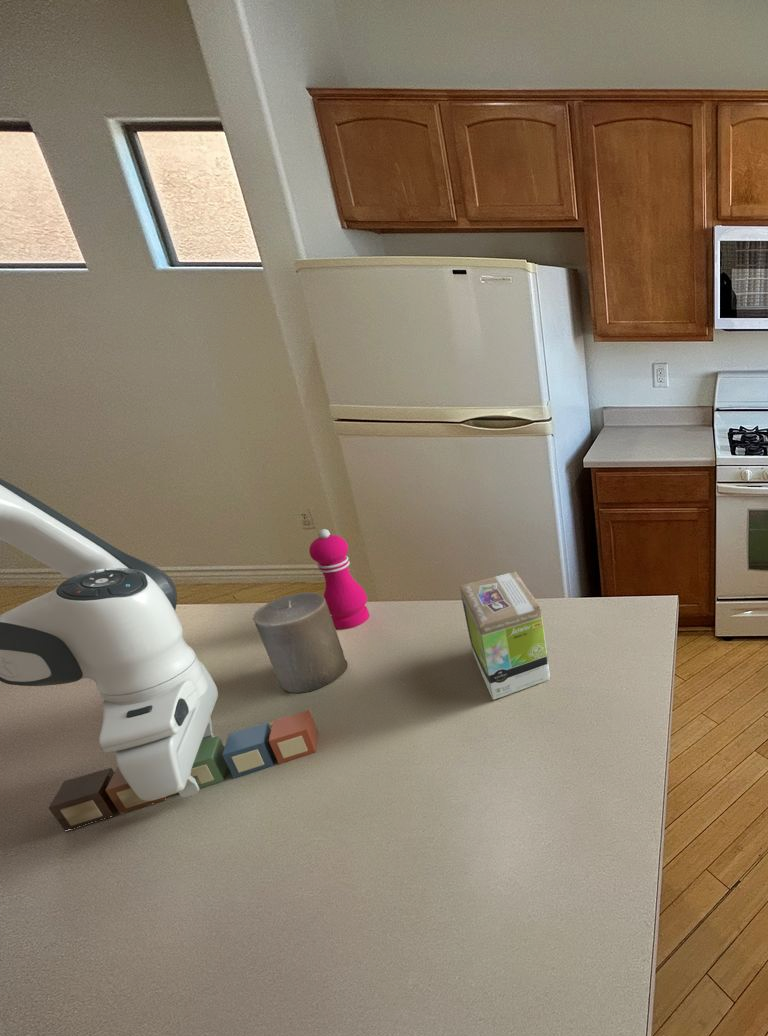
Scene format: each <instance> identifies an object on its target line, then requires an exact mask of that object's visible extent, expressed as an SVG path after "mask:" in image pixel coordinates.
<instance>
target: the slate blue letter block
mask: <svg viewBox="0 0 768 1036" xmlns="http://www.w3.org/2000/svg"><path fill="white" fill-rule="evenodd" d="M270 733H271V727H270V724H269V722H268V721H267V722H263V723H259V724H256V725H252V726H250V727H246V728H243V729H239V730H236V731H232V732H229V733H228V735H227V739H226V742H225V745H224V747H225V748H224V751H223V754H222V755H223V757H224V759H225V761H226V763H227V765H228V767H227V768H228V770H229V771H230V774H231V775H232V777H233V779H236V778H239V777H242V776H246V775H249V774H252V773H255V772H258V771H262V770H265V769H267V768H270V767H273V766H274V764H275V759H276V757H275V754H274V752H273V750H272V748H271V745H270V743H269V737H270Z"/></svg>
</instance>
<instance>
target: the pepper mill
mask: <svg viewBox="0 0 768 1036" xmlns="http://www.w3.org/2000/svg"><path fill="white" fill-rule="evenodd" d="M317 535H318V537H317V538H315V539H314V540H313V541H312V542H311V543H310V545H309V548H308V552H309V557H310V558H311V559H312V560H313V561H314V562H316V566H317V569H318V572H320V573H322V574H323V577H324V582H325V588H324V593H323V595H322V596H323V597H324V598H325V600H326V603H327V606H328V608H329V611H330V614H331V617H332V620H333V624H334V626H335V629H340V630H347V629H351V628H354V627H357V626H360V625H362V624H363V623H365V622H366V621H368V619H369V617H370V612H369V609H368V606H366V604H367V602H368V595H367V594H366V591H365V590H364V589H363V586H361V585H360V584H359V583H358V582H357V581H356V580H355V579H354V578H353V576H352V575H351V572H350V570H349V565H350V564H351V562H350V560H349V556H347V554H348V553H349V545H348V543H347V541H346V540H345V539H344V538H343V537H341V536H339V535H336V534H331V532H330V531H329V530H328V529H327V528H322V529H320V530H319V531H318V533H317Z"/></svg>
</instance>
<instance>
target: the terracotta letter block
mask: <svg viewBox="0 0 768 1036" xmlns="http://www.w3.org/2000/svg"><path fill="white" fill-rule="evenodd" d="M270 729H271V733H270V737H269V743H270V745H271V748H272V750H273V752H274V754H275V759H276V761H277V763H278V764H282V763H285V762H289V761H293V760H296V759H298V758H301V757H305V756H307V755H311V754H314V753H316V752H317V745H318V736H319V731H318V728H317V725H316V723H315V720H314V718H313V715H312V712H311V709H308V710H304V711H301V712H298V713H294V714H291V715H288V716H284V717H280V718H277V719H274V720H272V724H271V727H270Z"/></svg>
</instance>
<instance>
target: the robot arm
mask: <svg viewBox="0 0 768 1036" xmlns="http://www.w3.org/2000/svg"><path fill="white" fill-rule="evenodd" d="M0 541H3V542H5V543H7V544H9V545H11V546H12V547H14V548H16V549H17V550H19V551H21V552H23V553H25V554H26V555H28V556H30V557H31V558H33V559H35V560H37V561H39V562H40V563H41V564H43V565H46V566H47V567H49V568H51V569H52V570H54V571H56V572H58V573H59V574H61V575H63V576H64V577H66V578H68V579H66V580H64V581H63V582H61V583H60V584H59V585H57V586H56V587H55V588H54V589H52V590H51V591H49V592H47V593H44V594H42V595H41V596H37V597H35V598H32V599H30V600H28V601H26V602H24V603H22V604H20V605H18V606H16V607H14V608H12V609H10V610H8V611H5V612H4V613H2V614H0V682H1V683H4V684H6V685H11V686H20V687H47V686H56V685H66V684H71V683H75V682H78V681H81V680H83V679H89V680H92V681H94V682H95V684H96V687H97V690H98V693H99V695H100V696H101V697H102V699H103V701H102V703H101V705H102V712H103V716H102V723H101V728H100V733H99V736H98V745H99V746H100V748H101V750H102V751H103V753H105V754H109V753H114V752H115V753H114V757H115V758H114V759H115V763H116V767H118V768H119V770H120V772H121V773H122V775H123V777H124V778H125V780H126V781H127V783H128V784H129V786H130V787H131V789H132V790H133V791H134V793H135V794H136V795H137V796H138V797H139V798H140V799H142V800H146V801H152V800H156V799H159V798H163V797H166V796H167V797H169V796H171V795H175V794H177V793H178V794H179V796H180V797H181V798H189V797H192V796H194V795H197V794H198V793H199V792H200V789H201V788H200V785H201V781H199V778H198V776H193V777H192V776H191V775H190V774H191V769H192V766H193V763H194V761H195V758H196V755H197V752H198V750H199V747H200V744H201V741H203V740H206V739H209V738H213V737H215V735H214V733H213V726H212V718H211V716H212V714H213V711H214V708H215V706H216V702H217V700H218V697H219V692H218V687H217V684H216V683H215V681H214V679H213V677H212V675H211V674H210V672H209V670H208V669H207V667H206V666H205V665H204V663H203V662H202V661H200V660H199V658H198V656H197V653H196V652H195V651H194V649H193V648H192V646H189V645H188V643H187V642H186V641H185V638H184V627H183V625H182V622H181V621H180V617H179V616H178V614H177V612H176V609H177V603H178V592H177V588H176V585H175V583H174V581H173V580H172V578H171V577H170V575H168V574H167V573H166V572H165V571H163V570H161V568H159V567H157V566H155V565H153V564H151V563H149V562H147V561H144V560H142V559H140V558H138V557H135V556H132V555H130V554H128V553H126V552H124V551H122V550H120V549H118V548H117V547H115V546H114V545H112V544H110V543H109V542H107V541H106V540H104V539H102V538H101V537H99V536H97V535H95V534H94V533H92V532H91V531H89V530H88V529H86V528H84V526H81V525H79V524H78V523H76V522H75V521H73V520H72V519H70V518H68V517H66V516H65V515H63V514H62V513H60V512H59V511H57V510H55V509H54V508H53V507H51V506H49V505H47V504H46V503H44V502H43V501H41V500H39V499H38V498H36V497H35V496H33V495H31V494H29V493H28V492H26V491H24V490H22V489H21V488H19V487H17V486H16V485H14V484H12V483H10V482H9V481H6V480H4V479H2V478H0Z"/></svg>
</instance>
